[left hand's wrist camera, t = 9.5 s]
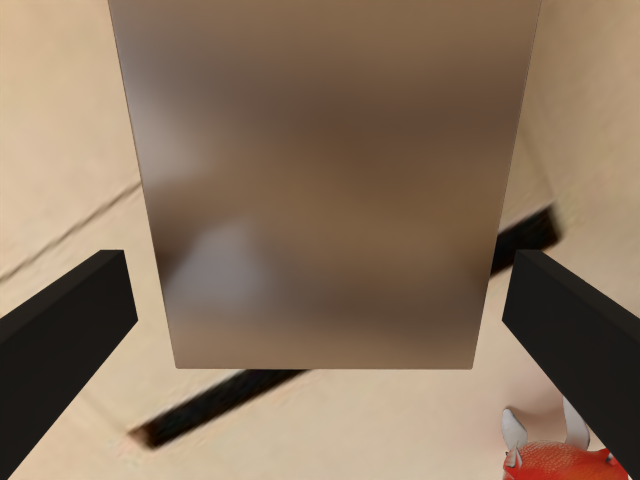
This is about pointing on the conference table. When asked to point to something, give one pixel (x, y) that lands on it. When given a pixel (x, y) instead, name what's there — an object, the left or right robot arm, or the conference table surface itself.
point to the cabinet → (324, 172)
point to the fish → (556, 453)
